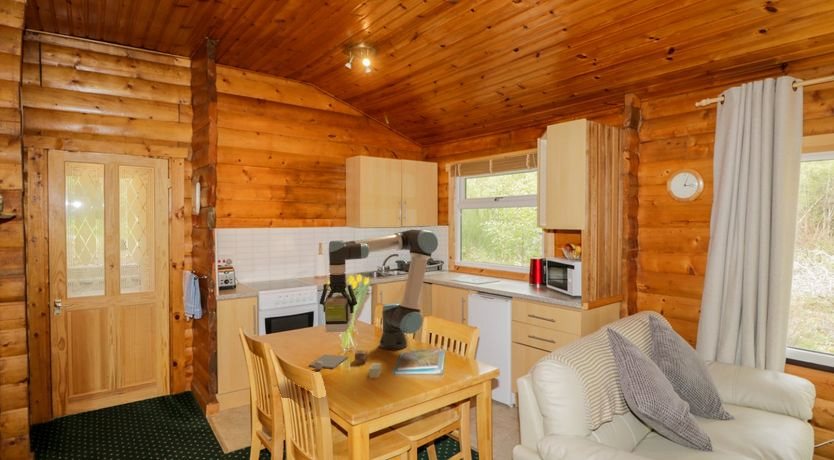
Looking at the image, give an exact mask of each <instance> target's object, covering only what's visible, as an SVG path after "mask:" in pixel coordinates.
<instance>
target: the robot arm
mask: <svg viewBox="0 0 834 460" xmlns="http://www.w3.org/2000/svg"><path fill="white" fill-rule="evenodd" d="M328 243H329V244H328V259H329V262H328V263H329V267H328V268H329V270H328V271H329V283H325V284H323V290H322V293H321V296H320V300H319V305H322V306H323V308H322V309H323V313H325V301H326V300H327V298H330V297H332V295H335V294H340V295H343V296H344V298H347V302H348V304H349V307H348V321H350V320H351V321H352V320H353V313H354V307H355V306H356V305H358V301H357V298H356V296H355V292H354V290H353V284H351V283H350V284H347V283H346V282H347V279H346V278H347V277H346V272H347V271H346V261H349V260H362V259H363V260H364V259H367V258H368V257H369V255H370V254H371V253H377V252H378V253H379V252H384V251H391V250H396V251H402V250H403V251H409V255H410V257H411V258H410V263H409V268H408V273H407V277H406V278H407V279H406V283H405V286H404V287H405V289H404V293H403V298H402V302H396V303H395V302H394V303H385V304H384V305H383V306H382V311H381V313H382V333H381V337H380V340H379V347H380V348H382V349H385V350H401V349H404V348H406V347H407V346H408V340H407V337H406V334H409V335H410V334H411V335H412V334H413V335H414V334H415V333H418V331H419V330H420V329H421V327H422V325H423V322H424V321H423V317H422V314H421V311H422V309H421V307H420V305H419V304H420V300H421V295H422V290H423V285H424V280H425V273H426V270H427V264H428V260H429V259H431V258H432V254H433V253H434V252H435V251H436V250H437V248H438V245H439V241H438V238H437V236H436V234H435V233H434V232H433V231H431V230H426V229H409V230H408V229H407V230H404V231H398V232H395V233H393V234H391V235H385V236H377V237H371V238H363V239H356V240H348V241H344V240H330V241H329V242H328ZM329 288H330V291H329V292H328V289H329ZM346 289H347V290H346ZM347 291H348V292H347ZM327 293H328V295H327ZM348 294H350V297H349V296H348ZM326 296H327V297H326Z"/></svg>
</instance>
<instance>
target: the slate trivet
mask: <svg viewBox="0 0 834 460" xmlns="http://www.w3.org/2000/svg"><path fill="white" fill-rule="evenodd" d="M348 359H349V356H346V355H336V354H335V355H334V354H323V355H322V356H320V357H318V358H316V359H315V360H314V361H312V362H311V363H310V364H309V363H308V367H310V368H311V367H312V368H315V367H314V364H315V362H316V361H321V362H322V363H323V367H322V368H321V369H331V370H334V369H335V368H337V367H338V366H340V365H341V364H342V363H344V361H346V360H348Z"/></svg>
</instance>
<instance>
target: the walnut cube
mask: <svg viewBox="0 0 834 460" xmlns="http://www.w3.org/2000/svg"><path fill="white" fill-rule="evenodd" d="M367 356H368V355H367V350H366V349H365V350H364V349H362V350H358V349H357V350H355V352H354V364H355V365H356V364H358V365H359V364H361V365H362V364H366V363H367V359H368V358H367Z"/></svg>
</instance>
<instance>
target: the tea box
mask: <svg viewBox="0 0 834 460" xmlns="http://www.w3.org/2000/svg"><path fill="white" fill-rule="evenodd" d="M347 294H348V296H349V297H350V294H349V293H347ZM326 298H327V297H326ZM350 298H351V297H350ZM325 300H326V299H325ZM325 300H324V301H325ZM348 307H349V304H348V302H347V298H344V296H343V295H342V294H333V295H332V297H330V298H327V300H326V301H325V312H324V316H325V317H324V323H325V333H344V332H346V333H347V332H348V330H349V329H350V328H349V327H350V326H351V324H352V320H350V321H348Z"/></svg>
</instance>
